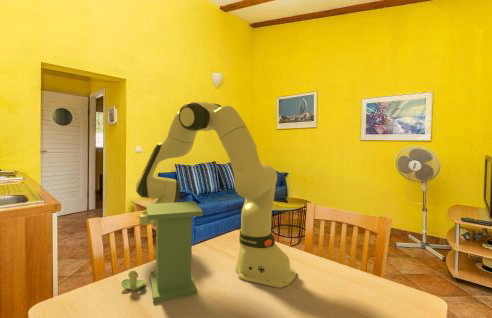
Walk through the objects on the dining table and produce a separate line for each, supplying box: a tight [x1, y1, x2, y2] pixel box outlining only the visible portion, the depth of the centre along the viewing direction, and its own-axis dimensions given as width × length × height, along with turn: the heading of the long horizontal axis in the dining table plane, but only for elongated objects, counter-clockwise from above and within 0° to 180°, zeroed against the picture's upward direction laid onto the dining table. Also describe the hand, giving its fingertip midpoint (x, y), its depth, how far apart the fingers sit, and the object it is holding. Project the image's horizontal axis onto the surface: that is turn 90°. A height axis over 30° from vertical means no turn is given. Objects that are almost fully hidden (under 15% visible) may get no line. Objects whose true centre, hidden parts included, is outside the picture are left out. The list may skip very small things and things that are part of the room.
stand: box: [145, 200, 204, 303], centre depth 89 cm, size 15×16×26 cm
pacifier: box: [120, 269, 147, 291], centre depth 88 cm, size 7×6×6 cm
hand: (168, 222), depth 104 cm, fingers open, 8 cm apart
